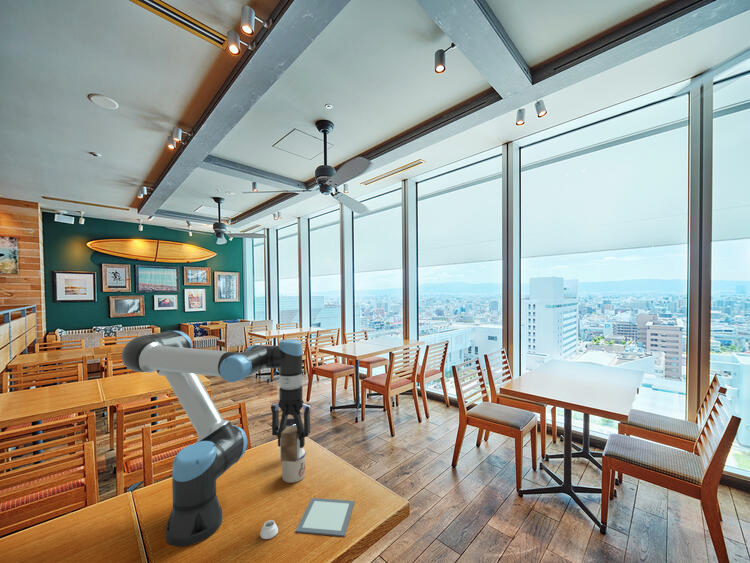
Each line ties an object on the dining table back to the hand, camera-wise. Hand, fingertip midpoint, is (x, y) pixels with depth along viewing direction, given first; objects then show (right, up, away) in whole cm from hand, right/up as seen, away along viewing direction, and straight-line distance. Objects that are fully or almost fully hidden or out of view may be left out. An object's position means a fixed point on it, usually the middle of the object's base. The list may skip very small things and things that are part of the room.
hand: (291, 456), depth 106 cm
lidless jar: (-3, -17, -12) cm, 21 cm away
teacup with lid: (-3, -17, +18) cm, 25 cm away
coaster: (+13, -16, -5) cm, 21 cm away
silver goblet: (-9, -18, +31) cm, 37 cm away
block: (0, 0, 0) cm, 0 cm away
